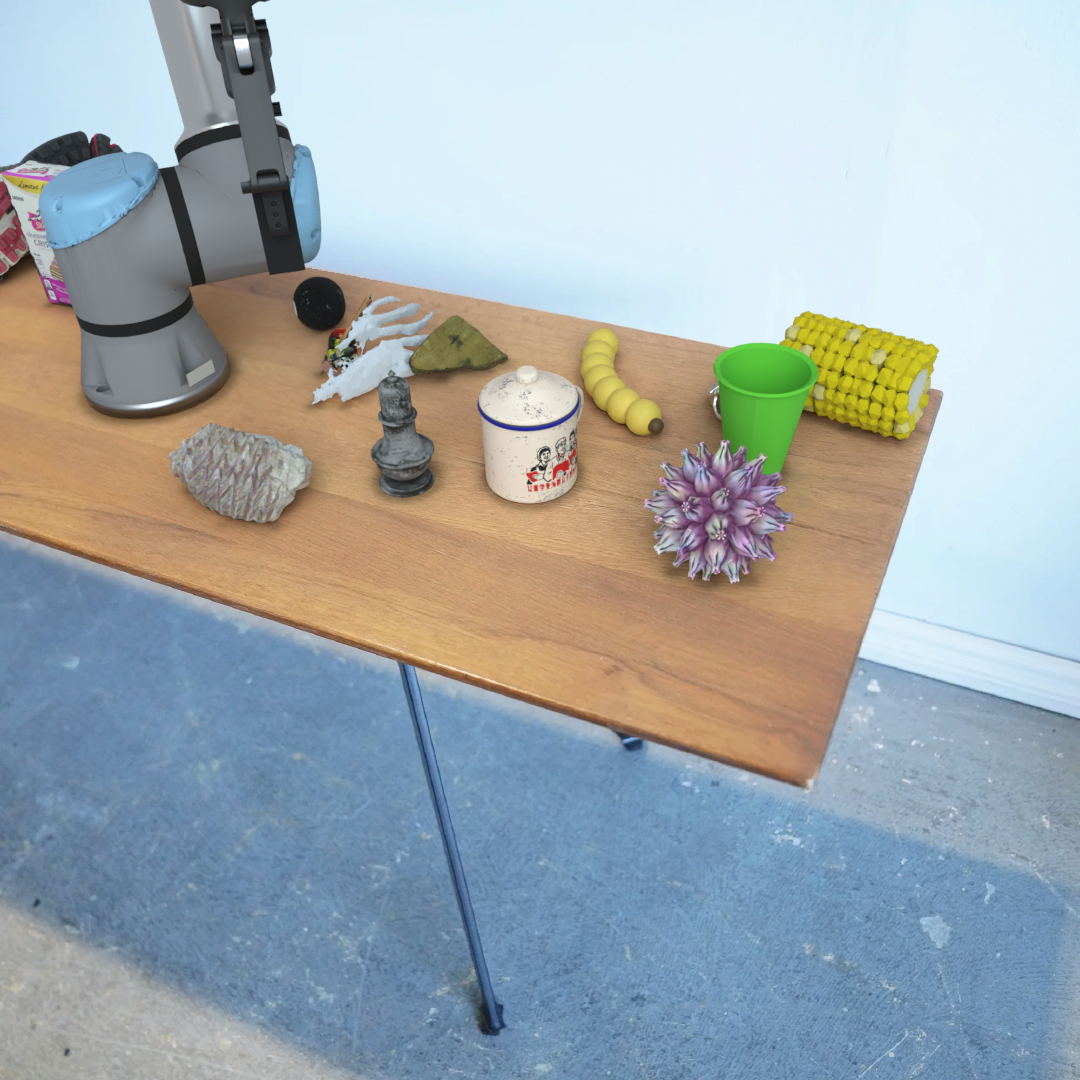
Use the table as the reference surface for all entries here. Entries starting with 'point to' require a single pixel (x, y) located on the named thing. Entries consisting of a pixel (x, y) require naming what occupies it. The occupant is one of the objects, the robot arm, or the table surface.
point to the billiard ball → (319, 303)
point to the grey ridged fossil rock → (240, 472)
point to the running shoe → (3, 233)
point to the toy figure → (336, 338)
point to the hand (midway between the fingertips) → (280, 234)
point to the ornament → (715, 399)
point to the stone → (455, 349)
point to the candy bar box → (36, 221)
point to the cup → (763, 398)
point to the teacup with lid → (530, 434)
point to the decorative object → (375, 351)
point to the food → (864, 373)
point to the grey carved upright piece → (401, 442)
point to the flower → (718, 511)
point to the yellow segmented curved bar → (616, 386)
